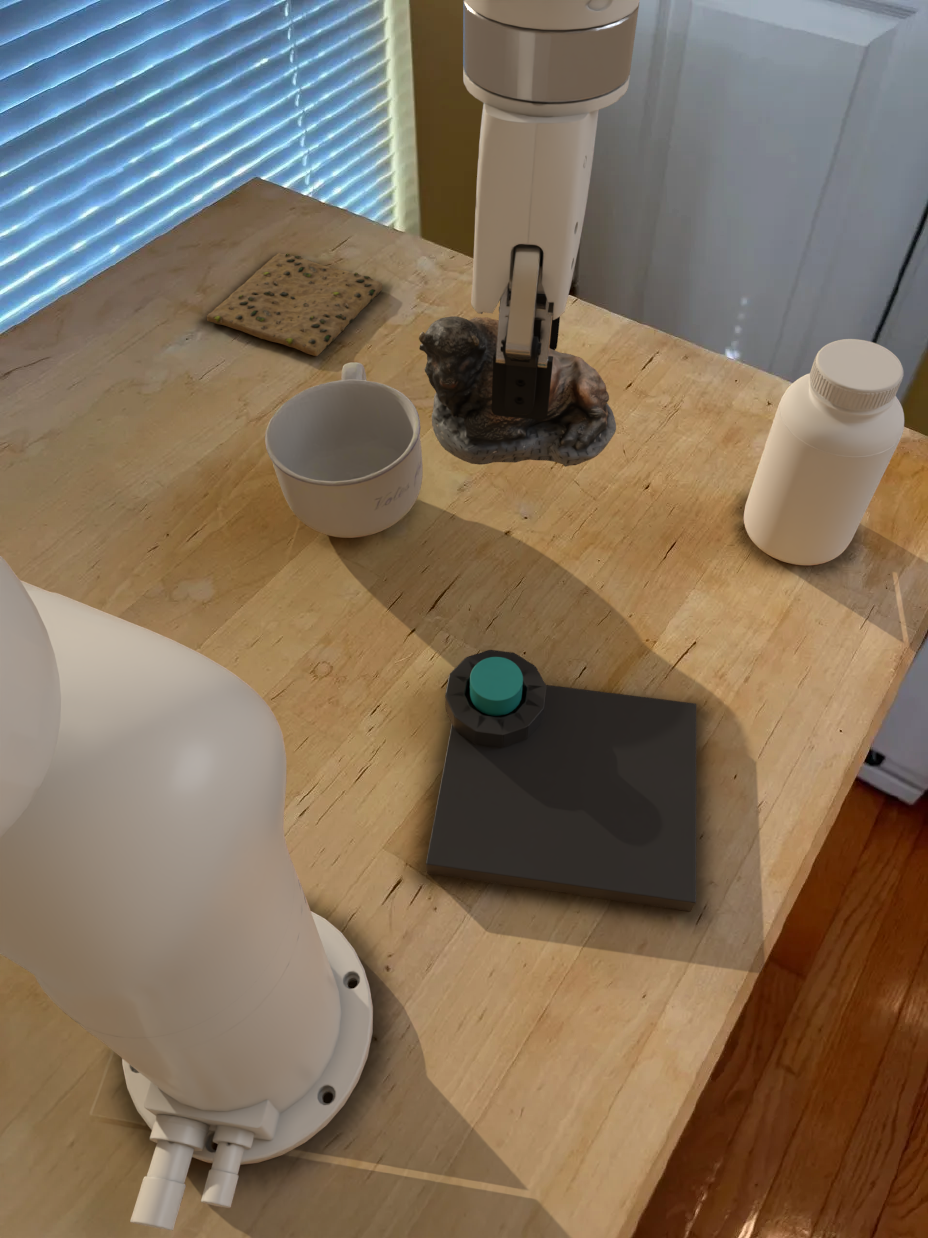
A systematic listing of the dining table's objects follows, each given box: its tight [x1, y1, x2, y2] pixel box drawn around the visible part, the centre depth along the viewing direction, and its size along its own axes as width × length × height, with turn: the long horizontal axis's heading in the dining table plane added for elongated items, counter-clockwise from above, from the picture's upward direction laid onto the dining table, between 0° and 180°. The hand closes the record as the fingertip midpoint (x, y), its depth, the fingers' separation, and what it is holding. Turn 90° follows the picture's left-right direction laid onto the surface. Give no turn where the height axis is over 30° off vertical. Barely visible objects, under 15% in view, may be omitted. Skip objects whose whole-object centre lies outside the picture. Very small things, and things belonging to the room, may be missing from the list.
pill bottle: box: [743, 338, 905, 566], centre depth 64 cm, size 8×8×15 cm
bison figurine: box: [418, 315, 617, 467], centre depth 56 cm, size 12×7×10 cm, turn 97°
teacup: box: [264, 361, 424, 539], centre depth 69 cm, size 14×11×8 cm
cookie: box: [206, 252, 383, 357], centre depth 87 cm, size 12×12×1 cm
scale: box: [425, 649, 697, 912], centre depth 56 cm, size 14×16×3 cm
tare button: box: [470, 657, 523, 716], centre depth 57 cm, size 3×3×2 cm
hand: (525, 377), depth 56 cm, fingers closed on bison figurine, 5 cm apart
